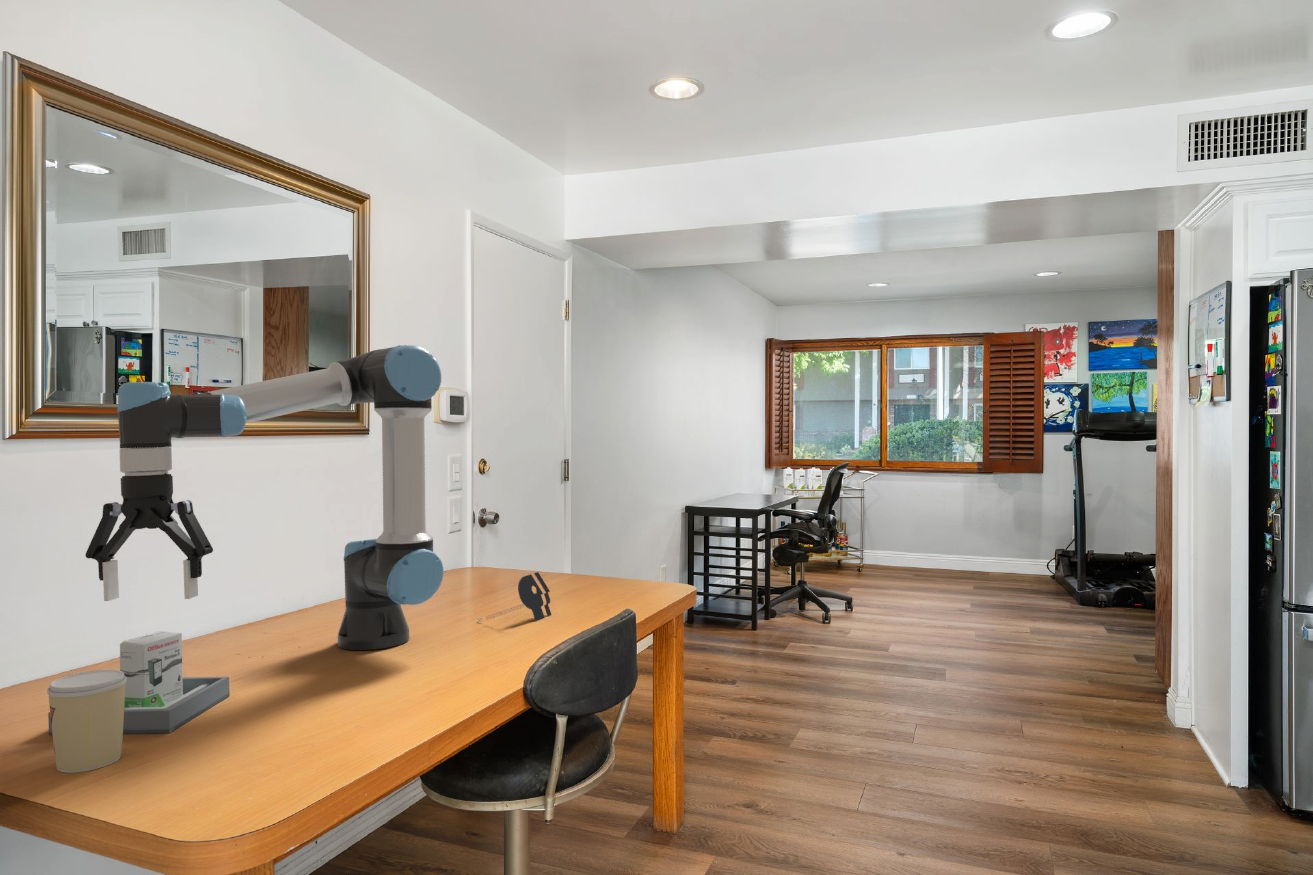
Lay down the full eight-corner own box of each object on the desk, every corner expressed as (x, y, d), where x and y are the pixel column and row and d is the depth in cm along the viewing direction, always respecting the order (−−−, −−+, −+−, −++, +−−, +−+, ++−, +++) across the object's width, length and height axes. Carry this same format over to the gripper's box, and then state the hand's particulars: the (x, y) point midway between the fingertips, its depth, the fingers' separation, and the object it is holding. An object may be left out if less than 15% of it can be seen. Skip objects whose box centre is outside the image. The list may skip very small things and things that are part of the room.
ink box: (144, 715, 136) (142, 643, 136) (118, 713, 137) (117, 642, 137) (184, 698, 144) (183, 631, 144) (160, 697, 146) (159, 630, 145)
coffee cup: (75, 750, 123) (73, 670, 123) (141, 747, 124) (139, 667, 124) (33, 777, 114) (31, 689, 114) (105, 773, 114) (102, 686, 114)
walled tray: (229, 696, 148) (229, 676, 148) (169, 732, 130) (169, 710, 130) (123, 697, 148) (122, 678, 148) (48, 734, 130) (48, 712, 130)
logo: (580, 605, 207) (566, 561, 208) (530, 625, 192) (515, 578, 194) (534, 620, 217) (520, 578, 218) (483, 640, 202) (469, 595, 203)
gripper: (231, 470, 144) (236, 591, 144) (88, 474, 144) (93, 595, 145) (208, 472, 137) (212, 601, 137) (57, 476, 137) (62, 605, 137)
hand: (151, 598), depth 141 cm, fingers open, 13 cm apart
